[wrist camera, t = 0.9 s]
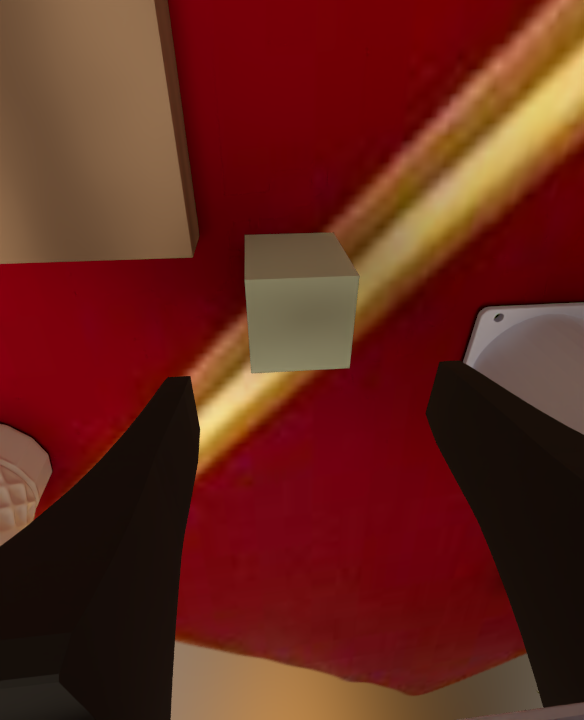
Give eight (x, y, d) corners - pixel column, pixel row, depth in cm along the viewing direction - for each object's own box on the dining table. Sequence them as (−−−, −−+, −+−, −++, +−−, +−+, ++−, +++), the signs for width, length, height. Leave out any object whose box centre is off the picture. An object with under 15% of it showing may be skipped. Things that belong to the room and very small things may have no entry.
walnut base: (167, -10, 13) (149, -33, 10) (200, 233, 17) (192, 257, 15) (-93, -16, 12) (-177, -41, 10) (12, 238, 17) (-27, 264, 14)
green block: (333, 232, 18) (359, 276, 14) (328, 310, 20) (349, 368, 16) (244, 234, 17) (244, 280, 13) (250, 314, 20) (251, 373, 16)
